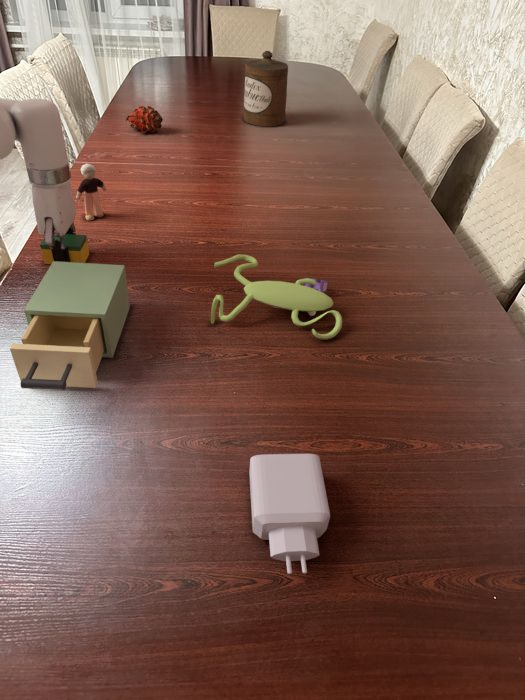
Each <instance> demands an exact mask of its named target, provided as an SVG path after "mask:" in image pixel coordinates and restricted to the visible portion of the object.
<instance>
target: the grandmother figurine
mask: <svg viewBox="0 0 525 700" xmlns="http://www.w3.org/2000/svg"><path fill="white" fill-rule="evenodd" d="M80 172H81V173H80V174H81V175H82V176H83V177H84V178H85V179H83V180H82V181H81V182H80V184H79V186H78V188H77V190H76V191H77V192H76V195H75V199H76V200H81V198H82V197H81V196H82V195H83V194H84V211H85V213H84V214H85V216H84V217H85V220H86V221H93V220H95V217H96V218H103V217H104V213H103V211H102V208H101V202H100V194H99V189H98V188H100V189H101V191H102V192H106V191H107V187H106V185H105V183H104V181H102V180H101V179H100V178H97V177H95V176H96V172H97V169H96V167H95V166H94V165H93V164H91V163H87V162H86V163H84V164H83V165H81V168H80Z"/></svg>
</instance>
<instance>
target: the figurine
mask: <svg viewBox="0 0 525 700" xmlns="http://www.w3.org/2000/svg"><path fill="white" fill-rule="evenodd" d="M237 261H245V262H249V263H242V264H240V265H237V266H236V268H235V269H234V272H233V276H234V279H236V280H237V281H238V282H240V283H241V285H243V286H244V287H243V292H244V293H245V295H246V296H245V297H244V299H243V300H242V301H241V302H240V303H239V304H238V305H237V306H236V307H235V308H234V309H233V310H232V311H231V312H230V313H229V314H226V315H225V314H224V296H223V295H222V294H216V295H215V296H214V298H213V300H212V303H211V309H210V310H211V311H210V324H211V325H214V323H215V321H216V312H217V306H218V304H219V302H220V304H219V309H218V310H219V311H218V317H219V319H220V321H221V322H224V323H229V322H230V321H232V320H234V319H235V318H236V317H237V316H238V315H239V314H240V313H241V312H242V311H244V310H245V309H246V308H247V306H249V304H250V303H251V301H253V300H254V301H257V302H259V303H261V304H262V305H263V304H264V305H266V306H269V307H272V308H273V309H282V310H288V311H291V316H290V317H291V320H292V323H293V324H294V325H295V326H297V327H306V326H309V325H312V324H314V323H316V322H317V321H319V320H321V319H322V318H323V317H324V316H325V315H327V314H331V315H333V316H334V318H335V325H334V327H333V329H332V330H331V331H329V332H327V333H319V332H317V331H316V330H315V329H314V328H312V329H311V333H312V335H313V336H314V337H315V338H316V339H318V340H323V341H325V340H330V339H333V338H335V337H336V336H337V335H338V334H339V333H340V331H341V329H342V326H343V318H342V315H341V313H340V312H339V311H337V310H335V309H332V310H328V309H330V308H332V307H333V305H334V301H333V299H332V297H330V296H329V295H327V294H326V293H327V289H328V286H329V280H322V279H317V278H312V277H309V276H306V277H305V278H300V279H297V280H296V281H295V283H294V282H287V281H281V280H259V281H250V280H248V279H247V278H245V276H243V275H241V273H242V272H243V271H245V270H252V269H255V268H257V267H258V266H259V262H258V260H257V259H256V258H255V257H253V256H250V255H248V254H241V253H240V254H236V255H233V256H231V257H229V258H227V259H224V260H220V261H215V262H214V265H213V268H214V269H217V268H222V267H224V266H227V265H231V264H233V263H235V262H237ZM325 310H328V311H326V312H324V313H322V314H320V315H319V316H316V314H317V312H321V311H325ZM299 312H307V314H308V315H309V316H310V317H313V316H316V317H315V318H313V319H311V320H308V321H306V322H305V321H304V322H303V321H301V320H300V319H299V317H298V316H299Z"/></svg>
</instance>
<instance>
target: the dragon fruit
mask: <svg viewBox="0 0 525 700" xmlns="http://www.w3.org/2000/svg"><path fill="white" fill-rule="evenodd" d="M163 121H164V118H163V117H162V114H160V112H159V111H158V110H157V109H155V108H154V107H152V106H151V105H147V107H145V106H144V105H140V106H138V108H135V109H134V111H133V112H131V113H130V114H128V115H127V116H126V118H125V122H128V123H130V124H129V126H130V128H132V129H133V130H138V131H139V132H141V133H142V134H145V133H147V132H149V133H155V130H157V129H159V130H160V129H161V128H162V127H163V125H162V123H163Z"/></svg>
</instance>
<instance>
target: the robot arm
mask: <svg viewBox="0 0 525 700" xmlns="http://www.w3.org/2000/svg"><path fill="white" fill-rule="evenodd" d="M62 124H63V123H62V120H61V115H60V110H59V107H58V106H57V105H56V104H55V102H53V101H51V100H48V99H44V98H43V99H42V98H28V99H23V100H18V99H10V98H9V99H8V98H2V97H0V160H3V159H5V158H7V157H8V156H9V155H10V154H11V153H12V151H13V150H14V147H15V143H16V141H17V142H19V143H20V149H21V151H22V155H23V160H24V164H25V169H26V173H27V177H28V181H29V184H30V185H31V196H32V204H33V211H34V216H35V221H36V226H37V231H38V234H39V235H40V236H44V238H45V243H46V244H47V245H49V246H50V249H51V251H52V255H53V259H54V261H57V262H71V261H70V256H69V252H68V247H65V236H64V234H75V235H77V233H76V226H75V223H74V221H75V220H76V217H77V209H76V203H75V197H74V193H73V190H72V186H71V185H72V184H71V181H72V174H71V169H70V162H69V157H68V151H67V147H66V142H65V141H66V140H65V136H64V135H65V134H64V130H63V125H62ZM55 231H56V232H55ZM54 237H60V241H58V240H55V239H54Z"/></svg>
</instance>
